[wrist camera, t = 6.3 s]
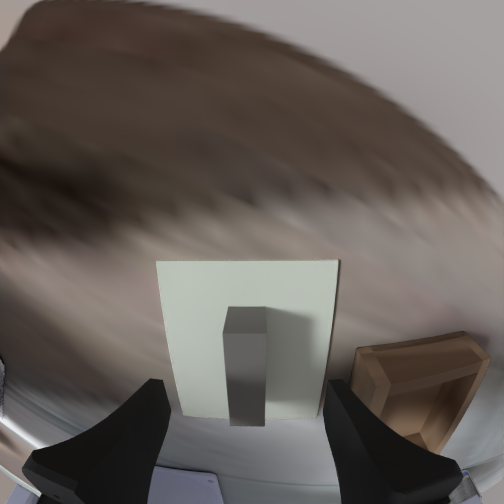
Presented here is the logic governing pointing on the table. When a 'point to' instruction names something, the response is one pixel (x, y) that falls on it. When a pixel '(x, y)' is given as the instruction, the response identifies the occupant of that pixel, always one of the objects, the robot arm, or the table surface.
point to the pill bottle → (464, 489)
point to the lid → (248, 335)
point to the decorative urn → (0, 381)
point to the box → (420, 385)
